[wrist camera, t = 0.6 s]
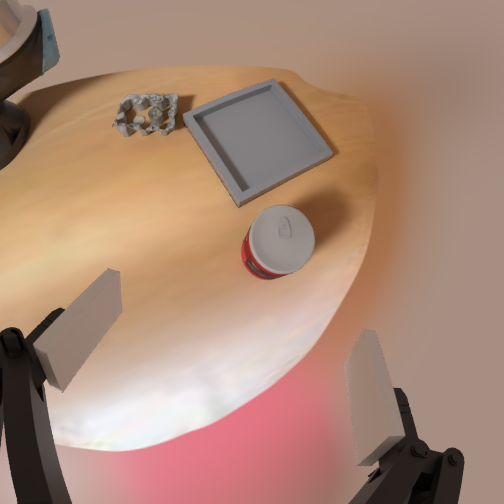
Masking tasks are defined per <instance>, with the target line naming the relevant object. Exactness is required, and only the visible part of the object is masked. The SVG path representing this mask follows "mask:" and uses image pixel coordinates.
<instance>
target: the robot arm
mask: <svg viewBox="0 0 504 504" xmlns="http://www.w3.org/2000/svg"><path fill="white" fill-rule="evenodd" d="M59 57H60V55H59V50H58V46H57V41H56V37H55V34H54V30H53V25H52V21H51V18H50V14H49V11H48V9H43V10H39V11H38V12H36V10H35V9H34V8H33V7H32V6H30V5H20V4H19V2H18V1H17V0H0V169H2V168H4V167H5V166H6V165H7V164H8V163H9V162H10V161H11V160H12V159H13V158H14V157H15V156H16V155H17V153H18V152H19V150H20V149H21V147H22V145H23V144H24V142H25V139H26V137H27V134H28V131H29V126H30V119H29V115H28V114H27V112H26V111H25V110H24V109H23V108H22V107H21V106H19V105H17V104H14V103H12V102H9V101H7V100H5V99H7V98H8V97H9V96H11V95H12V94H14V93H15V92H16V91H18V90H19V89H21V88H22V87H24V86H25V85H27V84H28V83H30V82H31V81H33V80H34V79H36V78H38V77H39V76H42V75H43V74H44V73H45V72H46V71H48V70H49V69H51V68H52V67H54V66H55V65H56V64H57V63H58V61H59ZM121 313H122V302H121V284H120V272H119V271H115V270H112V269H109V268H108V269H107V270H106V271H105V272H104V273H103V274H102V275H101V276H100V277H99V278H97V279H96V280H95V281H94V282H93V283H92V284H91V285H90V286H89V287H88V288H87V289H86V290H85V291H84V292H83V293H82V294H81V295H80V296H79V297H78V298H77V299H76V300H75V301H74V302H73V303H72V304H71V305H70V306H69V307H68V308H67V309H66V310H65V309H63V308H58V309H56V310H54V311H52V312H51V313H50V314H49V315H48V316H47V317H46V318H45V320H43V321H42V322H41V323H40V324H39V325H38V326H37V327H36V328H35V329H34V330H33V331H32V332H31V333H30V334H29V335H28V336H27V337H26V338H25V339H24V336H23V334H22V332H21V331H20V329H18V328H15V327H10V328H6V329H4V330H3V331H1V333H0V446H1V437H2V429H3V422H4V428H5V438H6V446H7V453H8V459H9V465H10V471H11V476H12V480H13V485H14V489H15V493H16V497H17V504H72V502H71V499H70V496H69V493H68V490H67V487H66V484H65V481H64V478H63V475H62V471H61V468H60V464H59V460H58V457H57V453H56V449H55V444H54V440H53V435H52V431H51V426H50V420H49V415H48V409H47V402H46V395H45V388H44V385H43V383H44V381H45V380H46V379H47V381H48V383H49V385H50V387H52V388H54V389H56V390H58V391H59V392H61V393H63V392H64V390H65V389H66V387H67V386H68V385H69V383H70V382H71V380H72V379H73V377H74V376H75V375H76V373H77V372H78V370H79V369H80V368H81V366H82V365H83V363H84V362H85V361H86V359H87V358H88V357H89V355H90V354H91V352H92V351H93V350H94V348H95V347H96V346H97V344H98V343H99V342H100V340H101V339H102V338H103V336H104V335H105V334H106V332H107V331H108V330H109V329H110V327H111V326H112V325H113V323H114V322H115V321H116V319H117V318H118V317H119V316H120V314H121ZM344 369H345V375H346V382H347V388H348V396H349V402H350V409H351V418H352V426H353V435H354V444H355V454H356V465H357V466H372V465H373V464H374V463H376V462H377V461H378V460H379V468H377V469H376V470H374V471H373V472H372V473H371V474H370V475H368V477H370V476H371V477H370V478H369V480H368V481H367V482H366V483H365V484H364V486H363V487H362V488H361V489H360V491H359V492H358V493H357V494H356V495H355V497H354V498H353V499H352V500H351V501H350V503H349V504H458V500H459V494H460V488H461V483H462V476H463V469H464V456H463V454H462V453H461V452H460V450H458V449H456V448H448V449H447V450H446V451H445V452H443V453H441V452H436V451H433V450H429V447H428V445H427V444H426V443H425V442H424V441H422V440H420V439H419V438H418V436H417V432H416V428H415V424H414V421H413V417H412V414H411V410H410V407H409V403H408V399H407V397H406V395H405V393H404V392H403V391H402V390H401V388H393V386H392V382H391V379H390V375H389V372H388V369H387V365H386V362H385V359H384V356H383V352H382V349H381V346H380V344H379V340H378V337H377V334H376V331H373V330H367V329H363V330H362V332H361V334H360V336H359V337H358V340H357V342H356V343H355V345H354V347H353V349H352V351H351V353H350V355H349V356H348V358H347V360H346V362H345V363H344Z"/></svg>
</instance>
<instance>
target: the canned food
mask: <svg viewBox="0 0 504 504" xmlns="http://www.w3.org/2000/svg"><path fill="white" fill-rule="evenodd" d="M314 247H315V234H314V230H313V227H312V225H311V223H310V221H309V220H308V218H307V217H306V216H305V215H304V214H303V213H302V212H301V211H299V210H298V209H296V208H294V207H292V206H288V205H274V206H271V207H268V208H266V209H265V210H263V211H262V212H261V213H260V214H259V215H258V216H257V217H256V218H255V220H254V221H253V223H252V225H251V227H250V229H249V231H248V233H247V235H246V237H245V239H244V241H243V244H242V250H241V253H242V260H243V263H244V265H245V267H246V268H247V270H248V271H249V272H250V273H251V274H252V275H254V276H255V277H257V278H260V279H264V280H272V279H276V278H279V277H282V276H285V275H288V274H291V273H293V272H296V271H297V270H299V269H301V268H302V267H303V266H304V265H305V264H306V263H307V262H308V261H309V259H310V258H311V256H312V254H313V251H314Z"/></svg>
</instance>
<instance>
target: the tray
mask: <svg viewBox="0 0 504 504" xmlns="http://www.w3.org/2000/svg"><path fill="white" fill-rule="evenodd" d="M183 122H184V124H185V125H186V127H187V128H188V130H189V131H190V133H191V135H192V136H193V138H194V139H195V141H196V142H197V144H198V146H199V147H200V149H201V150H202V152H203V153H204V155H205V156H206V158H207V160H208V161H209V163H210V164H211V166H212V167H213V169H214V171H215V172H216V174H217V175H218V177H219V178H220V180H221V182H222V183H223V185H224V186H225V188H226V189H227V191H228V193H229V194H230V196H231V197H232V199H233V201H234V202H235V204H236V205H237V207H238V208H239V207H241V206H243V205H245V204H246V203H248V202H250V201H252V200H254V199H255V198H257V197H259V196H261V195H263V194H265V193H267V192H268V191H270V190H272V189H274V188H276V187H278V186H280V185H281V184H283V183H285V182H287V181H289V180H291V179H293V178H295V177H297V176H298V175H300V174H302V173H304V172H306V171H308V170H310V169H312V168H314V167H316V166H318V165H320V164H322V163H324V162H326V161H328V160H329V159H330V158H331V157H332V155H333V154H334V153H333V152H332V150H331V149H330V147H329V146H328V145H327V143H326V142H325V141H324V139H323V138H322V137H321V135H320V134H319V133H318V131H317V130H316V129H315V127H314V126H313V125H312V124H311V122H310V121H309V120H308V119H307V117H306V116H305V115H304V113H303V112H302V111H301V110H300V109H299V107H298V106H297V105H296V104H295V102H294V101H293V100H292V99H291V98H290V96H289V95H288V94H287V93H286V92H285V91H284V89H283V88H282V87H281V86H280V85H279V84H278V82H277V81H276V80H275V79H274V78H273V79H270V80H267V81H264V82H261V83H258V84H255V85H252V86H250V87H247V88H244V89H241V90H239V91H236V92H233V93H231V94H228V95H226V96H223V97H221V98H218V99H216V100H213V101H211V102H209V103H206V104H204V105H202V106H199V107H197V108H195V109H193V110H190V111H188V112H186V113H184V114H183Z"/></svg>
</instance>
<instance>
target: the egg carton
mask: <svg viewBox="0 0 504 504" xmlns="http://www.w3.org/2000/svg"><path fill="white" fill-rule="evenodd" d="M177 104H178V97H177V94H171V95H158V94H151V95H148V94H146V95H138V94H131V95H128V96H127V97H125V98H124V99H123V100H122V102H121V104H120V108H119V110H118V116H117V119H116V118H115V121H114V124H113V125H112V126H117V129H118V131H119V132H121V133H122V134H123V136H124V137H129V136H130V135H131V134H132V133H133V132H136V131H139V132H141V134H142V136H147V135H149V133H150V132H152V131H159V132H160V133H161V136H167V135H168V133H169V132H171V131H173V130H175V127H176V126H175V119H174V116H175V115H177V114H178V107H177ZM152 105H154V107H153V108H152V109H150V111H149V113H148V115H149V117H150V120H151V124H150V126H149V127H147V128H146V129H142V128H141V125H142V124H144V122H145V118H144V117H143V116H137V117H135V118H134V119H133V123H130V124H126V123H127V118H126V115H125V113H124V112H126V111H128V110H129V109H130V108H131V107H133V106H136V109H137V110H138V111H143V110H146V109H147V108H148V106H152ZM167 105H172V107H171V109H170V110H169V111H168V115H169V120H170V123H171V124H169V125H168V126H166V129H163V130H162V129H160V128H159V126H158V125H160V124H162V123H163V121H164V117H163V112H162V110H163V109H165V108H166V106H167Z"/></svg>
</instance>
